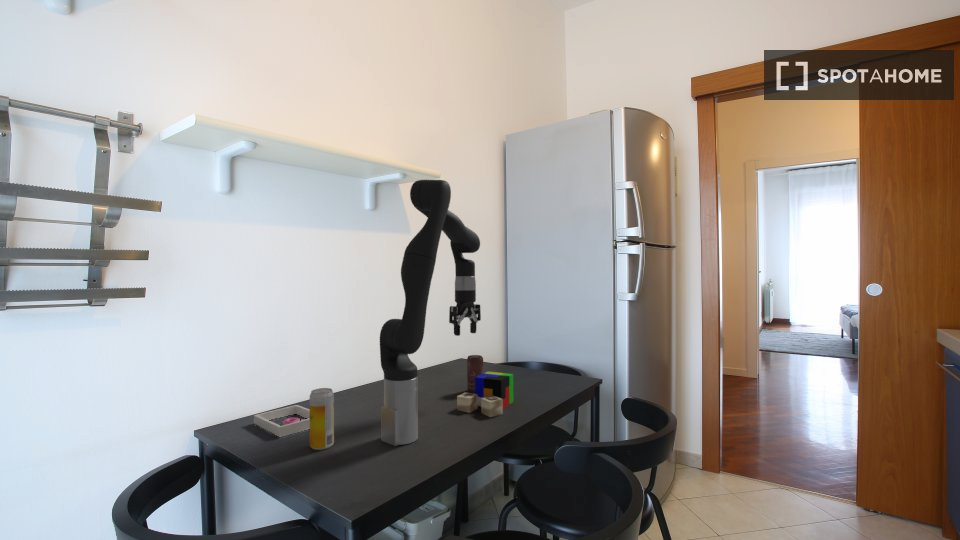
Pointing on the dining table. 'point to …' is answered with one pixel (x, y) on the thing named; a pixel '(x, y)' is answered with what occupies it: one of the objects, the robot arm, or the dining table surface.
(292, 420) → the donut
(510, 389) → the puzzle toy
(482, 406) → the marked block
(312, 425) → the beer can
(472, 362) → the can
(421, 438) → the dining table surface
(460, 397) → the marked block
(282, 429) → the dish rim
